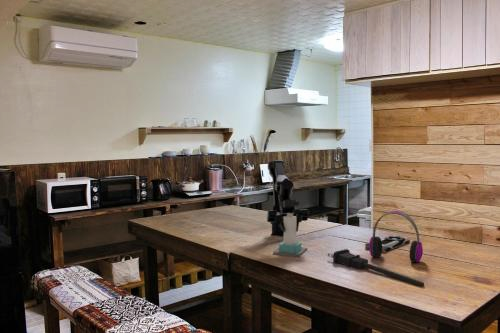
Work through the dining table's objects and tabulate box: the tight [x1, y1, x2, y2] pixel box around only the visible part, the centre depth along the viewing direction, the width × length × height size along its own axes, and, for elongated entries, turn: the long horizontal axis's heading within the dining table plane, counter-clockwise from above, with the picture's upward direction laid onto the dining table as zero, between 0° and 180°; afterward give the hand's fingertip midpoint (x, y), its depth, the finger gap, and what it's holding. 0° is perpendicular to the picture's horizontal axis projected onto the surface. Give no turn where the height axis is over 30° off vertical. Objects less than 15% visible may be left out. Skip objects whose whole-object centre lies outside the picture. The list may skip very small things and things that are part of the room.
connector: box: [283, 213, 298, 246], centre depth 187 cm, size 4×4×14 cm
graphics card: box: [364, 234, 411, 254], centre depth 195 cm, size 10×3×25 cm
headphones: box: [368, 210, 424, 264], centre depth 174 cm, size 21×9×20 cm, turn 59°
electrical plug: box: [327, 248, 425, 288], centre depth 160 cm, size 9×42×5 cm, turn 36°
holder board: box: [272, 240, 308, 258], centre depth 188 cm, size 12×12×4 cm
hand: (290, 231), depth 186 cm, fingers closed on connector, 5 cm apart
